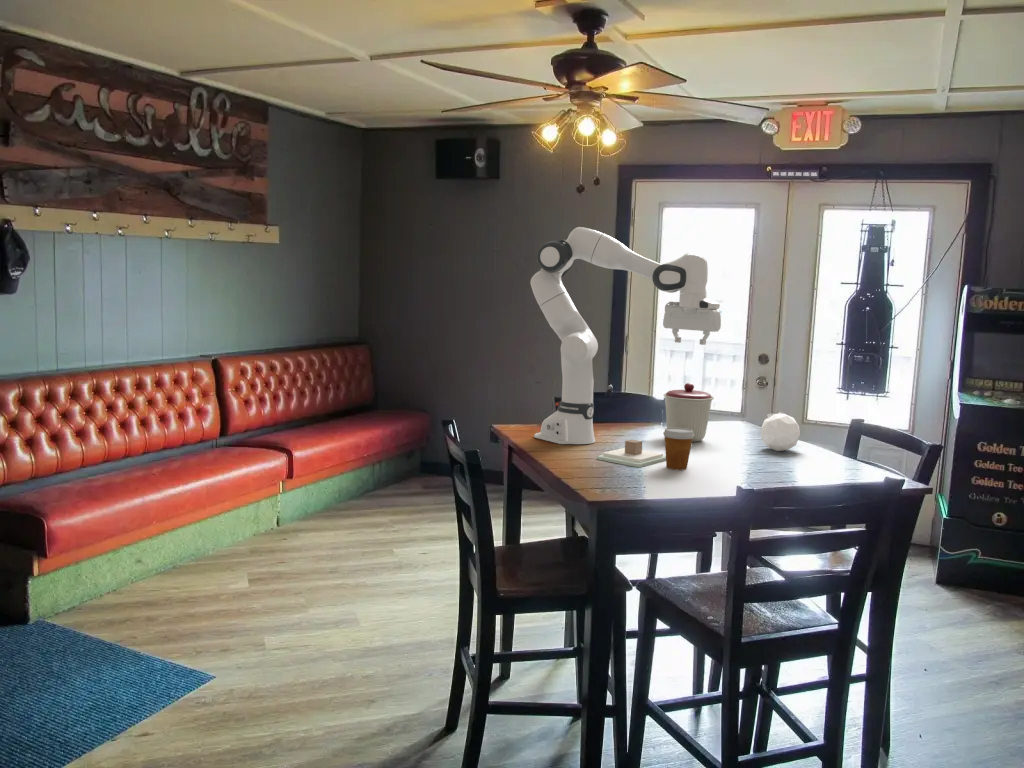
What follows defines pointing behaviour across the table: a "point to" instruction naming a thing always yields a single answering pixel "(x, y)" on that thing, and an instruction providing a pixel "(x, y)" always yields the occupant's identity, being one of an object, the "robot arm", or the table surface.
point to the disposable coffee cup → (677, 447)
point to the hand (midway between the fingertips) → (690, 343)
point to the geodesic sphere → (780, 432)
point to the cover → (633, 452)
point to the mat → (631, 461)
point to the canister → (688, 410)
